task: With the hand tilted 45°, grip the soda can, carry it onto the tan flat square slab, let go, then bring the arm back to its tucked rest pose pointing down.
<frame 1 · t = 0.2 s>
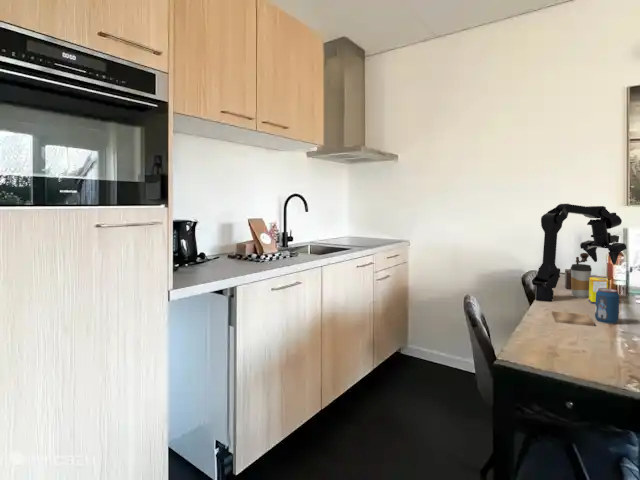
hand: (604, 263, 179), 15 cm above the table, tool pointing down, fingers open, 9 cm apart
tan flat square slab: (571, 319, 142), on the table
coffee cup: (579, 296, 178), on the table
soda can: (606, 322, 139), on the table
manual coffee grinder: (576, 287, 198), on the table
supplement box: (597, 303, 166), on the table
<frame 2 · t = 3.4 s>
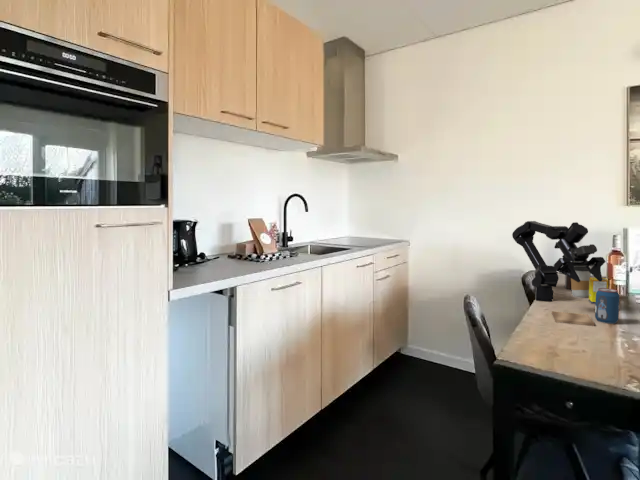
hand: (590, 281, 146), 14 cm above the table, tool tilted 45°, fingers open, 9 cm apart
nothing on the table moved.
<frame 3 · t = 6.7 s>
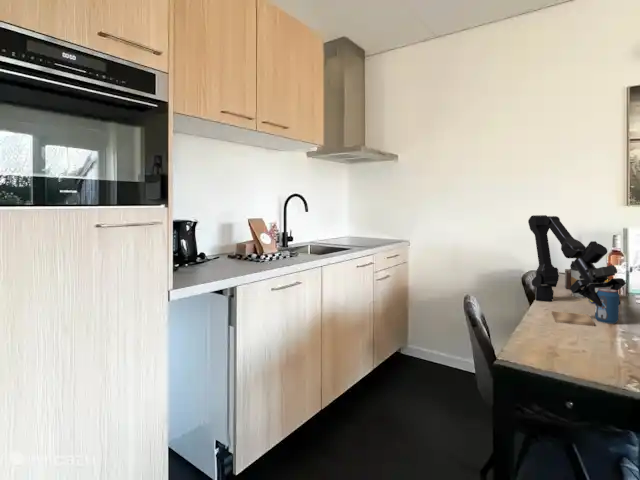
hand: (610, 305, 137), 7 cm above the table, tool tilted 45°, fingers closed on soda can, 7 cm apart
soda can: (606, 322, 139), on the table, touching gripper
everything else where it was.
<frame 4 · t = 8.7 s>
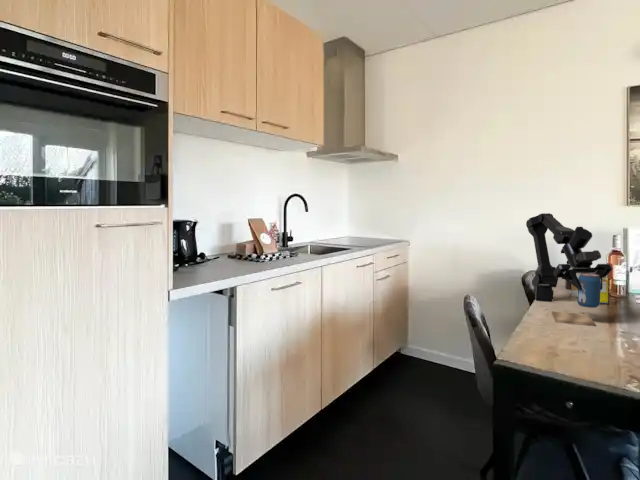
hand: (591, 289, 138), 12 cm above the table, tool tilted 45°, fingers closed on soda can, 7 cm apart
soda can: (588, 306, 140), point 5 cm above the table, touching gripper
everything else where it was.
when the fingers open (9 cm above the table, at t = 10.9 s): soda can drops 1 cm, resting on tan flat square slab.
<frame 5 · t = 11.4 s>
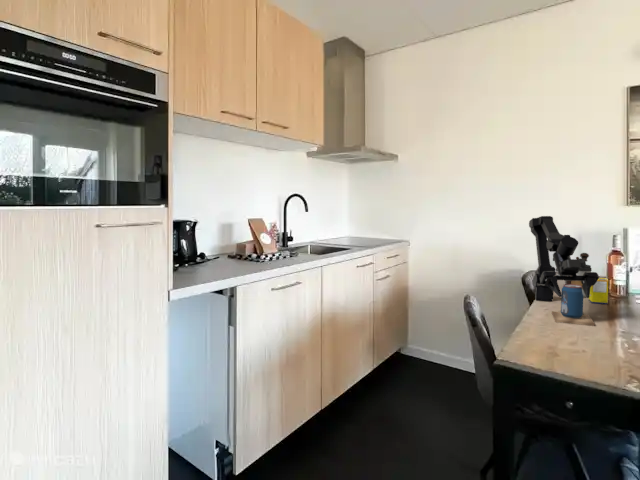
hand: (574, 296, 140), 9 cm above the table, tool tilted 45°, fingers open, 9 cm apart
soda can: (571, 317, 142), point 1 cm above the table, touching tan flat square slab
everything else where it was.
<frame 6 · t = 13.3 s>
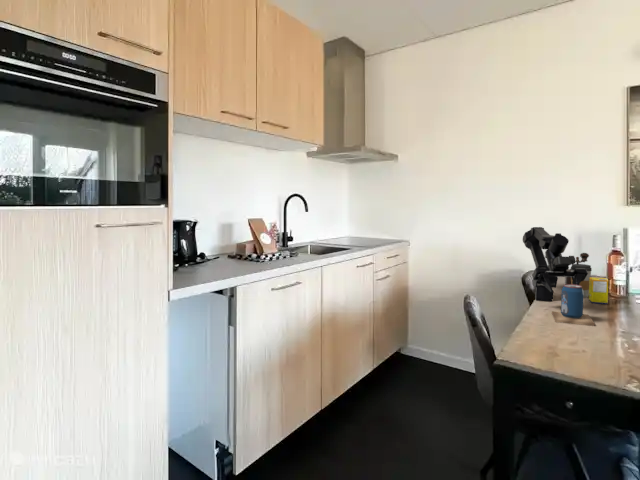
hand: (564, 291, 149), 9 cm above the table, tool tilted 45°, fingers open, 9 cm apart
nothing on the table moved.
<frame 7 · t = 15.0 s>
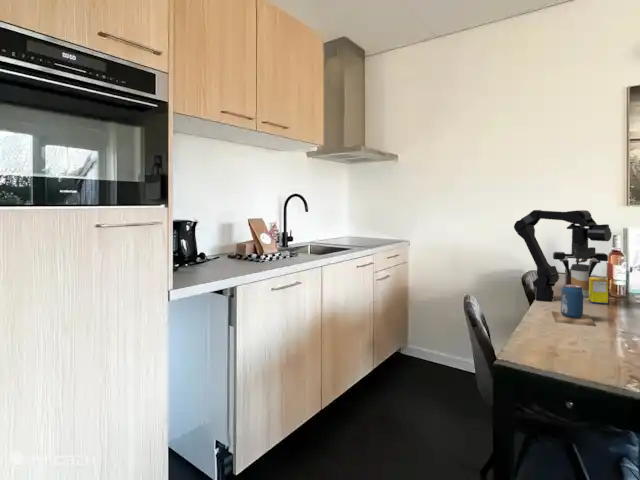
hand: (578, 276, 159), 13 cm above the table, tool pointing down, fingers open, 7 cm apart
nothing on the table moved.
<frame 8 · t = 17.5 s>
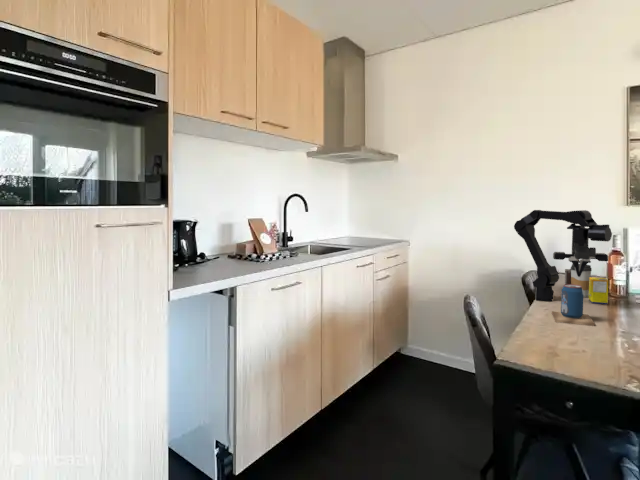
hand: (578, 276, 159), 13 cm above the table, tool pointing down, fingers closed
nothing on the table moved.
at the end: soda can inside the target area on the tan flat square slab (0.3 cm from its centre), point 0.8 cm above the tan flat square slab's base; soda can tilted 0°; the gripper is holding nothing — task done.
